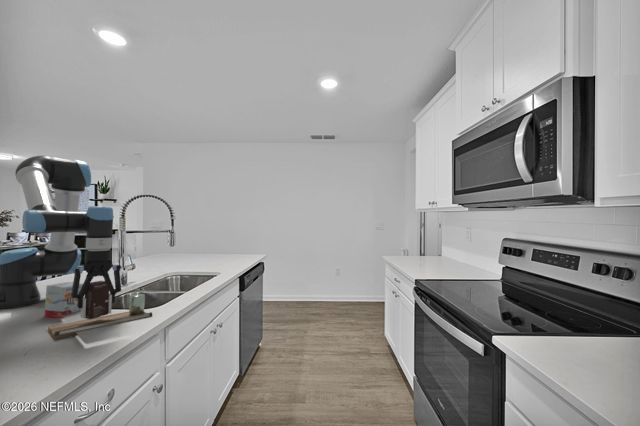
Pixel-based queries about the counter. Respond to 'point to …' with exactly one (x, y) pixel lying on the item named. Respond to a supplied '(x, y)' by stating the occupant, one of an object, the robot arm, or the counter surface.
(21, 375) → the counter surface
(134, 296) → the green glass jar
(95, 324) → the shelf board
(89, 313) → the box
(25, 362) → the counter surface
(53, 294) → the ink box
